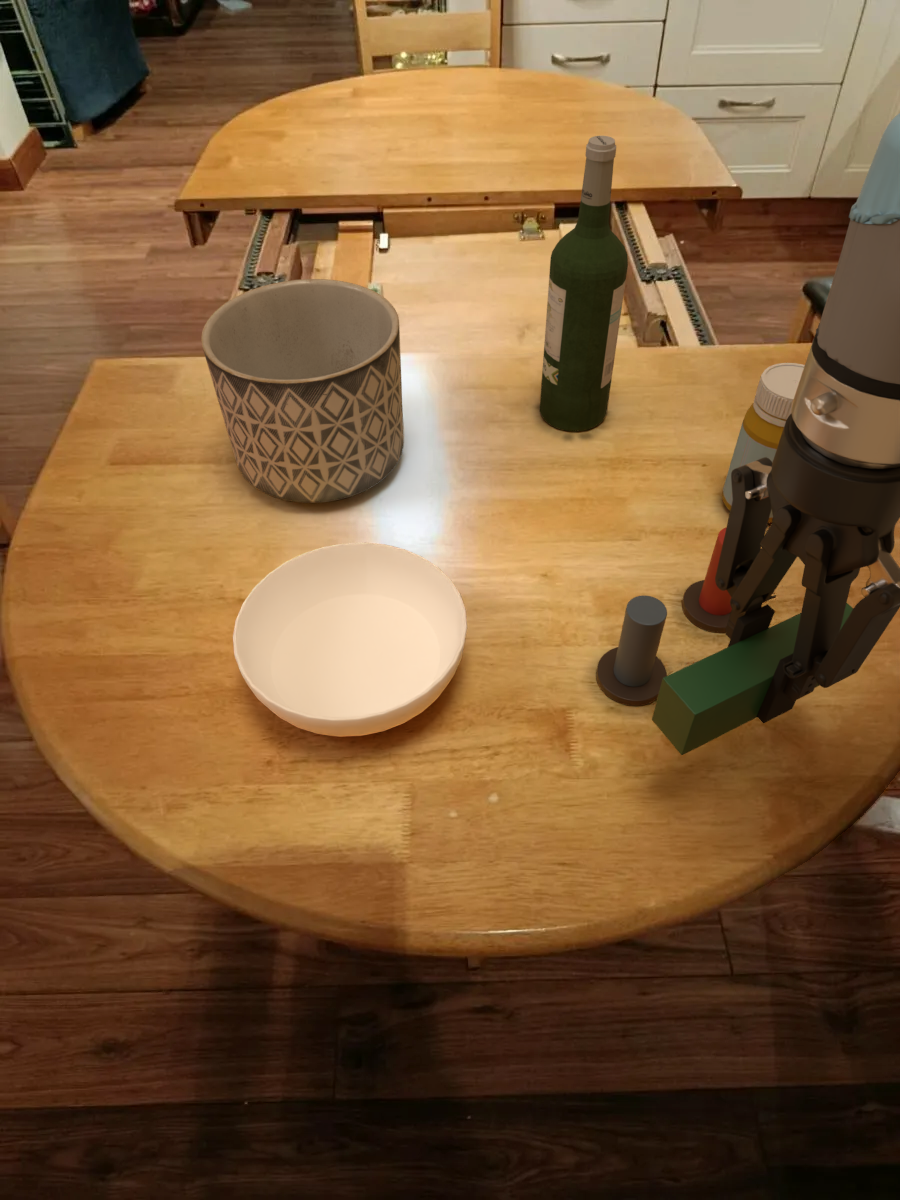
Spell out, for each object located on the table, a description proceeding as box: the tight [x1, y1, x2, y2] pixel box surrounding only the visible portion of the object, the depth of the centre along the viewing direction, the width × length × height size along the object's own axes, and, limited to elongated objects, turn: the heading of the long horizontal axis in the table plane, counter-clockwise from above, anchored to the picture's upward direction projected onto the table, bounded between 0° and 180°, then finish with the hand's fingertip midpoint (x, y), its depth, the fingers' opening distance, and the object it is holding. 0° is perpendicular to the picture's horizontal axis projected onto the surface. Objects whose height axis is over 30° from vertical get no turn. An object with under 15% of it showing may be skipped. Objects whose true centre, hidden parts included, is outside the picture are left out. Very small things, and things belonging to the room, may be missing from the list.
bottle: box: [721, 362, 805, 524], centre depth 83 cm, size 7×7×15 cm
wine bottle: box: [539, 135, 629, 433], centre depth 89 cm, size 8×8×30 cm
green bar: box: [651, 602, 854, 756], centre depth 61 cm, size 4×16×5 cm, turn 118°
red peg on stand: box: [681, 526, 732, 634], centre depth 76 cm, size 6×6×9 cm
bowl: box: [232, 541, 468, 738], centre depth 73 cm, size 20×20×6 cm
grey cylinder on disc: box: [595, 594, 668, 707], centre depth 71 cm, size 6×6×9 cm
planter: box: [200, 278, 405, 504], centre depth 89 cm, size 19×19×16 cm
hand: (754, 691), depth 62 cm, fingers closed on green bar, 3 cm apart
